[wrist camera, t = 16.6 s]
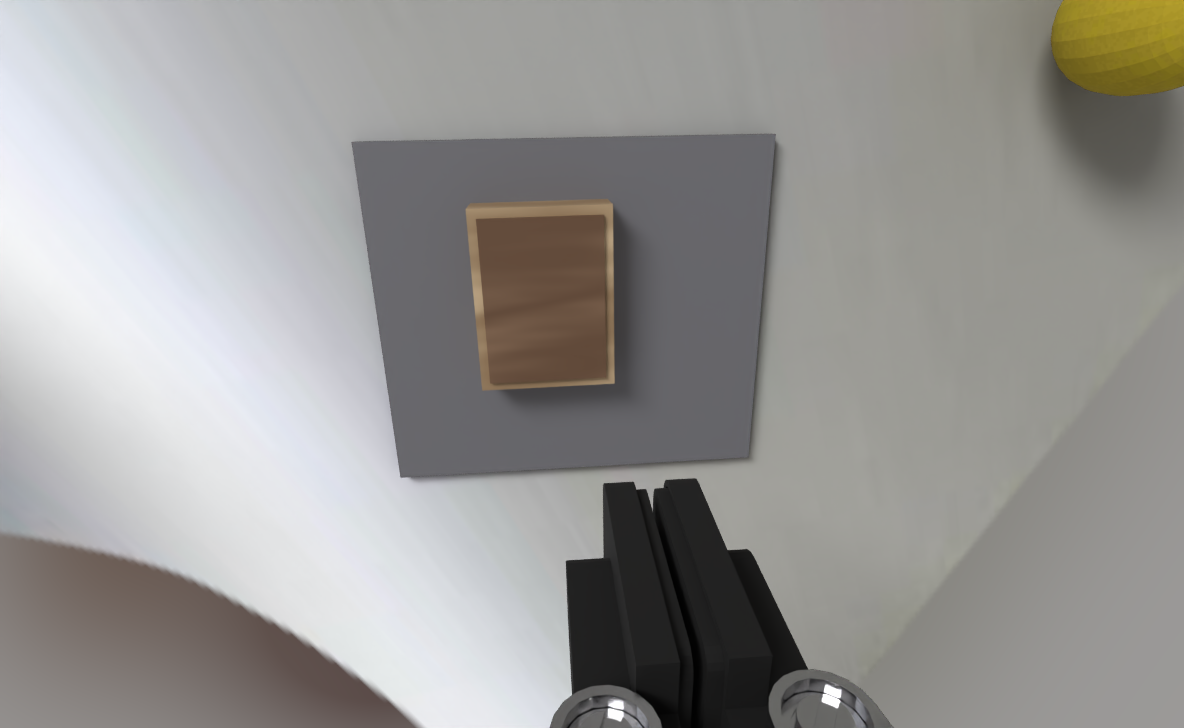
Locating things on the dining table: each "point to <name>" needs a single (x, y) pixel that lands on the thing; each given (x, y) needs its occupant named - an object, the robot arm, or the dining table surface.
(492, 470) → the mat
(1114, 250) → the dining table surface
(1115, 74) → the lemon
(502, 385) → the wooden box
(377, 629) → the dining table surface
